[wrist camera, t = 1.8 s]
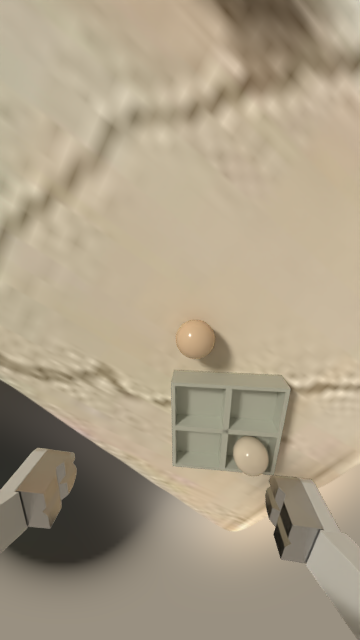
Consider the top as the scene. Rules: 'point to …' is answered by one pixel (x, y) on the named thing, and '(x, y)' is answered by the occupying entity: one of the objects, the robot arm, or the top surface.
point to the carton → (225, 416)
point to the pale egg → (250, 455)
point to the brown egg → (195, 339)
